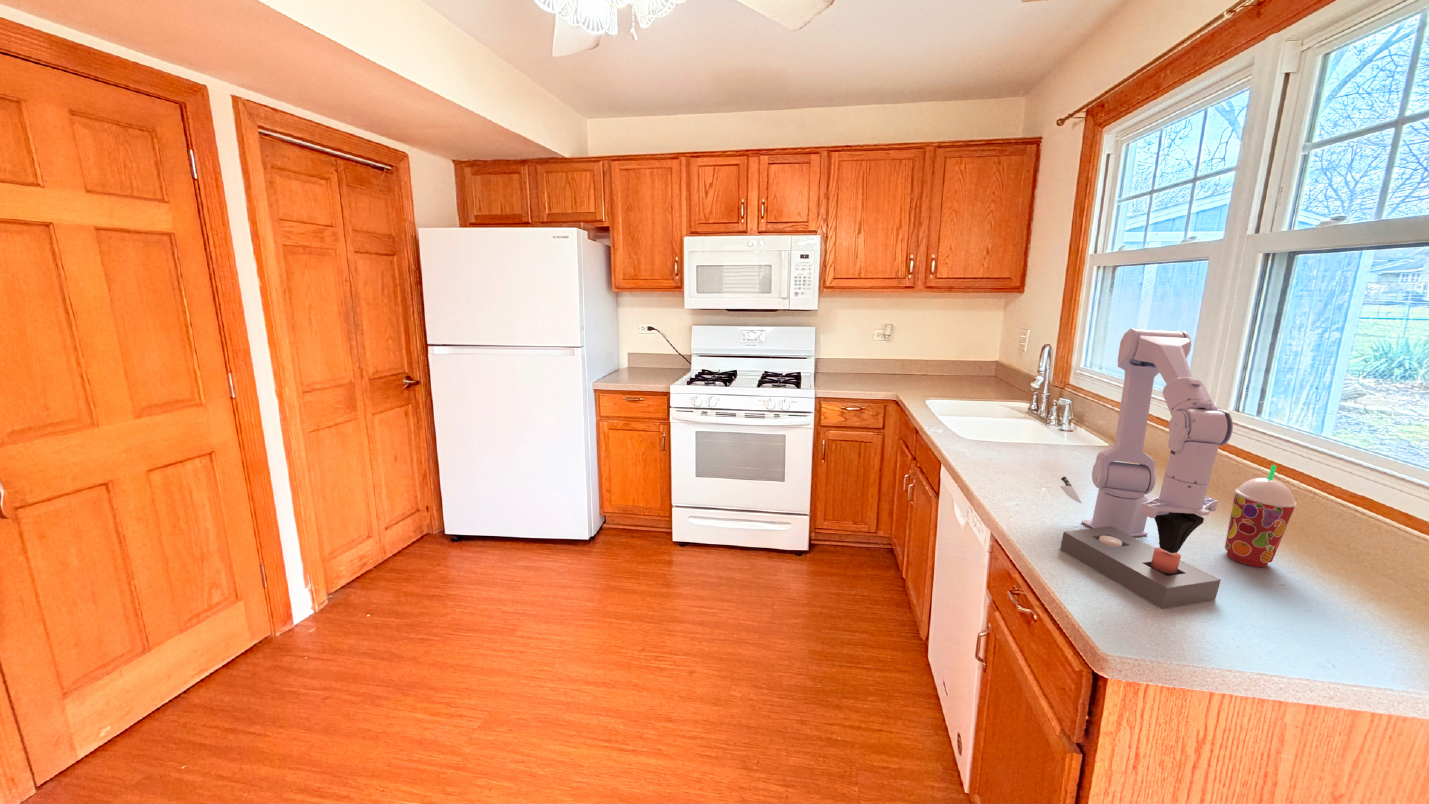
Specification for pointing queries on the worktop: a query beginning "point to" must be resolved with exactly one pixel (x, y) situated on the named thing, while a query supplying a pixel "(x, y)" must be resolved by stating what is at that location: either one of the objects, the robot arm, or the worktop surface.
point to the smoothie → (1258, 520)
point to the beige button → (1110, 541)
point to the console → (1139, 568)
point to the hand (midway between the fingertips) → (1168, 550)
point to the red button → (1165, 561)
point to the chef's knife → (1070, 490)
